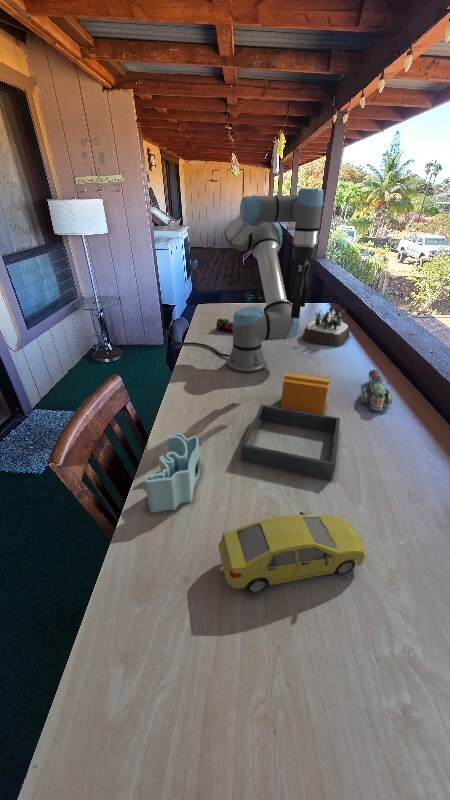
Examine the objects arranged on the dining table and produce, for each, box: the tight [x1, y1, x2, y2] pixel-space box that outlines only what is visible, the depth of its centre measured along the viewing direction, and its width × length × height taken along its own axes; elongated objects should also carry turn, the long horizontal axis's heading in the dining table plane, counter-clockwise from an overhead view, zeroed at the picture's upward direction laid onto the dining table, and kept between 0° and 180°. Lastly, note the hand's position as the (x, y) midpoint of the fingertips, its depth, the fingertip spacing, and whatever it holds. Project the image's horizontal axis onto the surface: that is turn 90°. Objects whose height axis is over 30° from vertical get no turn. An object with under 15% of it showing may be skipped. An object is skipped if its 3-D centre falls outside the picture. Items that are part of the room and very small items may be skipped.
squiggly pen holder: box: [144, 432, 201, 513], centre depth 85 cm, size 18×10×9 cm, turn 175°
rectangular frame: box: [240, 404, 341, 481], centre depth 99 cm, size 24×22×5 cm
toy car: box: [218, 511, 367, 594], centre depth 66 cm, size 12×28×10 cm, turn 102°
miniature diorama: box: [302, 305, 351, 347], centre depth 169 cm, size 20×20×17 cm
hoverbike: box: [360, 366, 393, 413], centre depth 123 cm, size 10×25×8 cm, turn 163°
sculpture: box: [215, 317, 233, 331], centre depth 180 cm, size 9×5×30 cm
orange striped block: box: [280, 371, 331, 415], centre depth 116 cm, size 14×8×11 cm, turn 71°
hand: (298, 311), depth 121 cm, fingers open, 13 cm apart
